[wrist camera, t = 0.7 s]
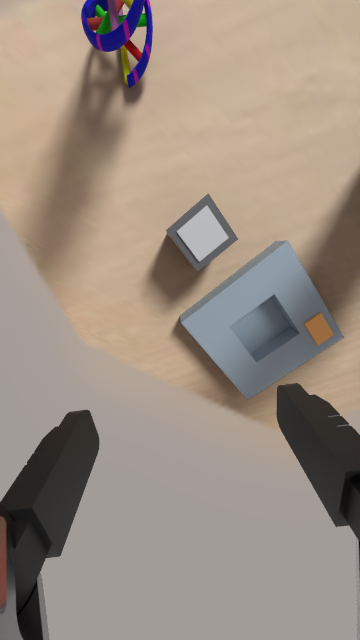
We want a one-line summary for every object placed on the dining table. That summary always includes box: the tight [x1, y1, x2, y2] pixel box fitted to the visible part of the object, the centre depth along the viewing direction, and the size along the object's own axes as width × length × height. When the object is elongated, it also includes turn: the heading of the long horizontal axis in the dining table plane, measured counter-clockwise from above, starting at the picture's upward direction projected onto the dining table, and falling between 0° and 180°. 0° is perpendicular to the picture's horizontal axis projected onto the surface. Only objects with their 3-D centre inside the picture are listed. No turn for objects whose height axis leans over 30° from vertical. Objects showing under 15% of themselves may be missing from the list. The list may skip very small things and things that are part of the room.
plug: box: [166, 194, 238, 272], centre depth 24 cm, size 5×5×7 cm
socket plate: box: [180, 241, 344, 400], centre depth 30 cm, size 16×16×3 cm
